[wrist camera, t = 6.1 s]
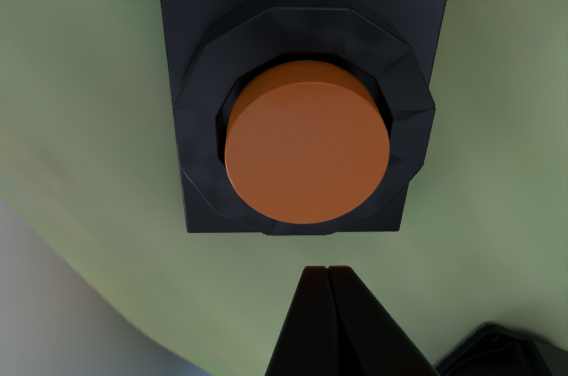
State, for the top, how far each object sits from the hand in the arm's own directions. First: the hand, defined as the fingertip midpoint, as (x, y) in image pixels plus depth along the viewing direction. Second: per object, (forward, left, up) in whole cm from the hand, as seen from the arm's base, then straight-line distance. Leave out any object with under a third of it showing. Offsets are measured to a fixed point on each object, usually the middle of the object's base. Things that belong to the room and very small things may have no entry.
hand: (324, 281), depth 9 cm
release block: (0, 0, -9) cm, 9 cm away
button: (0, 0, -6) cm, 6 cm away
